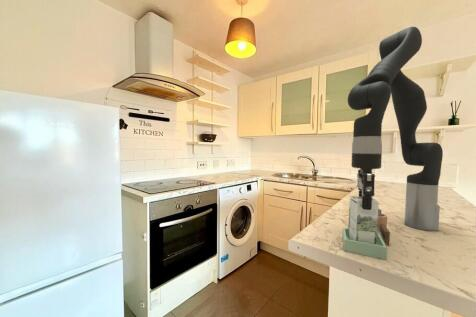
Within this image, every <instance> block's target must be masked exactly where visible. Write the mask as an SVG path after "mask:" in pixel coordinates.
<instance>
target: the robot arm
mask: <svg viewBox="0 0 476 317" xmlns="http://www.w3.org/2000/svg"><path fill="white" fill-rule="evenodd" d="M422 43H423V38H422V33H421V31H420V29H419V27H417V26H409V27H407V28H403V29H402V30H400V31H397V32H395V33H393V34H392V35H389V36H387V37H386V38H384V39H382V40H381V41H380V42H379V46H378V50H379V52H378V53H379V56H380V61H378V62H377V63H376V64H375V65H374V66H373V67H372V69H371V70H370V72H369V73H368V75H367V76H366V77H365V78H363V79H362V80H360V81H359V82H357V84H355V86H353V87H352V88H351V89H350V91H349V93H348V96H347V103H348V104H347V105H348V106H349V108H351V109H352V110H353V111H363V110H369V109H370V110H369V112H368V113H367V114H365V115H363V116H359V117H358V118H356V119H355V120H353V121H354V122H353V130H352V132H353V133H352V134H353V135H352V137H353V138H352V143H351V167H352V168H354V169H358V170H357V174H356V175H357V176H356V178H357V190H358V196H359V197H362V208H363V209H365V210H371V208H372V198H374V197H375V181H376V180H375V177H376V175H375V173H373V170H378V169H381V168H382V153H383V141H382V126H383V125H382V124H383V120H384V116H385V113H386V111H387V107H388V105H389V103H390V98H391V100H392V105H393V110H394V114H395V116H396V120H397V121H396V122H397V126H398V130H399V137H400V147H401V155H402V158H403V161H404V163H405V164H406V165H408V166H415V167H422V168H423V169H422V170H421V171H419V172H417V173H412V174H408V175H407V176H406V186H405V187H406V188H405V206H404V207H405V208H404V225H406V226H408V227H410V228H414V229H417V230H423V231H438V232H439V228H440V210H441V206H440V205H439V204H438V201H439V200H438V198H439V196H438V195H439V182H440V178H441V171H442V164H443V155H444V154H443V148H442V145H441V144H440V143H438V142H417V138H416V131H417V129H418V126H419V125H420V123H421V121H422V120H423V118H424V117H425V114H426V112H427V110H428V105H427V99H426V94H425V91H424V89H423V88H422V87H421V86H420V85H419V84H418V83H416V82H415V81H414V80H412V79H410V77H408V76H407V75H406V74H404V72H403V71H402V69H403V67H404V66H406V64H407V63H408V62H409V61H410V60H411V59H412V58H413V57H414V56H415V55H416V54H418V52H419V51H420V50H421V47H422Z"/></svg>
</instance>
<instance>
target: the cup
mask: <svg viewBox="0 0 476 317" xmlns="http://www.w3.org/2000/svg"><path fill="white" fill-rule="evenodd" d="M380 223H381V224H384V225H385V226H386V227H387V228H388V215H387V213H383V212H381V216H378V222H377V227H378V229H379V231H380Z"/></svg>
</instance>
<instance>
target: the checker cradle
mask: <svg viewBox="0 0 476 317" xmlns="http://www.w3.org/2000/svg"><path fill="white" fill-rule="evenodd" d="M380 232H381V234H382V239H383V241H384V243H385V245H386V246H390V241H391V240H390V238H391V232H390V230H389V228H388V226H387V227H386V226H385V225H384V224H381V223H380Z"/></svg>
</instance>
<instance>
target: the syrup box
mask: <svg viewBox="0 0 476 317" xmlns="http://www.w3.org/2000/svg"><path fill="white" fill-rule="evenodd" d="M379 204H380V203H379V201H378V200H377V199H375V198H374V197H372V208H371V210H365V209H363V208H362V197H359V195H358V196H357V195H354V196H353V195H350V196H349V206H348V207H349V208H348V210H349V211H348V226H347V227H348V239H349V240H354V241H359V242H365V243H370V244H376V238H377V222H378V208H379Z"/></svg>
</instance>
